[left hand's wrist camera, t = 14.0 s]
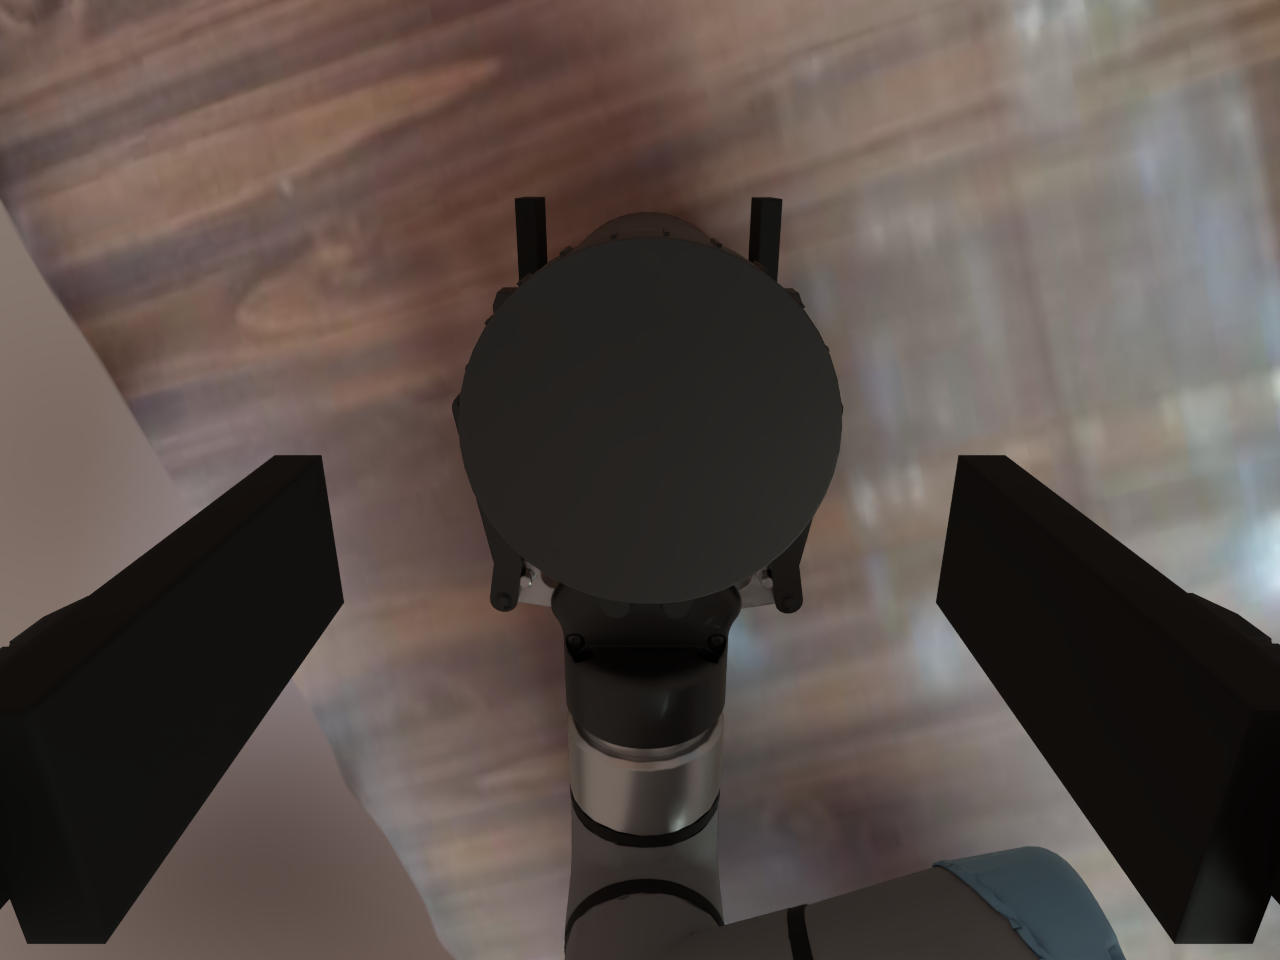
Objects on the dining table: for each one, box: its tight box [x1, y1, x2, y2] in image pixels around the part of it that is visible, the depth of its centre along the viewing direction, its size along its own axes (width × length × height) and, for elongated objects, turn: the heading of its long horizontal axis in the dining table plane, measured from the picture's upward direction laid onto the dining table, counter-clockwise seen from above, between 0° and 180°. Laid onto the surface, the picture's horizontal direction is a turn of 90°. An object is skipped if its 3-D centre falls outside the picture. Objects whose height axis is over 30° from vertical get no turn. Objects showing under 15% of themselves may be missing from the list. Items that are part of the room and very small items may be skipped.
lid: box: [458, 227, 842, 604], centre depth 19 cm, size 9×9×2 cm
